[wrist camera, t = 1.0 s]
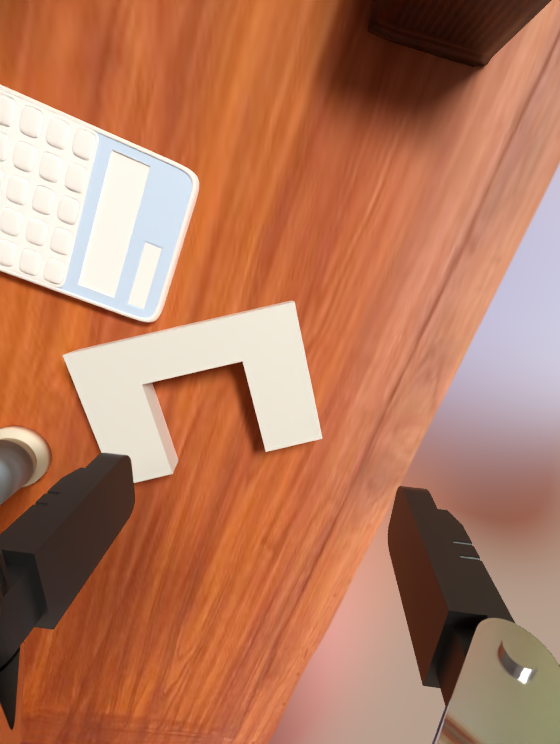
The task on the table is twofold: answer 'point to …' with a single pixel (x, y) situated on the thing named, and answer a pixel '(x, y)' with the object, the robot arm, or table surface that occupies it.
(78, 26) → the table surface
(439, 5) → the manual coffee grinder
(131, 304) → the calculator
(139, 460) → the notched board
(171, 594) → the table surface
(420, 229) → the table surface
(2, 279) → the table surface
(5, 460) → the disc
